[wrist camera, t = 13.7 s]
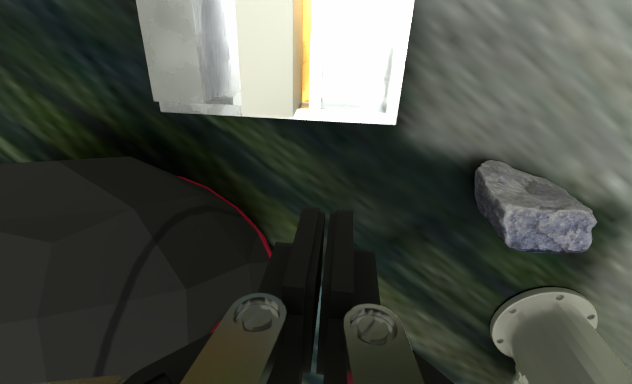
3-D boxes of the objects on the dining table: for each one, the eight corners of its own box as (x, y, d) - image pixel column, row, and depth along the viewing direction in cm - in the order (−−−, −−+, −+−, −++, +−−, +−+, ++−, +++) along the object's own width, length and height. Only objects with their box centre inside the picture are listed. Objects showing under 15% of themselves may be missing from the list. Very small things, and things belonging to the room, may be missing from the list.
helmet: (111, 416, 46) (-358, 837, 16) (85, 187, 46) (-415, 177, 16) (301, 409, 42) (153, 936, 12) (270, 160, 43) (58, 86, 13)
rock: (452, 202, 37) (490, 261, 28) (463, 154, 35) (510, 201, 25) (545, 207, 37) (616, 268, 27) (564, 159, 34) (649, 209, 25)
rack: (415, -59, 27) (440, -87, 20) (391, 116, 33) (403, 140, 27) (148, -68, 28) (87, -97, 21) (174, 104, 34) (134, 124, 27)
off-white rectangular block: (303, -21, 28) (292, -34, 22) (301, 100, 32) (292, 118, 26) (256, -23, 28) (232, -36, 22) (261, 98, 33) (242, 116, 26)
